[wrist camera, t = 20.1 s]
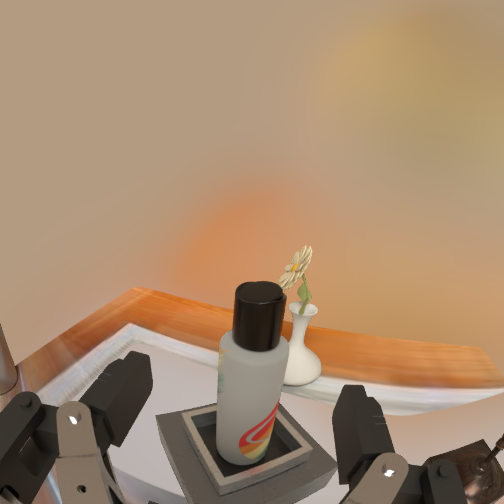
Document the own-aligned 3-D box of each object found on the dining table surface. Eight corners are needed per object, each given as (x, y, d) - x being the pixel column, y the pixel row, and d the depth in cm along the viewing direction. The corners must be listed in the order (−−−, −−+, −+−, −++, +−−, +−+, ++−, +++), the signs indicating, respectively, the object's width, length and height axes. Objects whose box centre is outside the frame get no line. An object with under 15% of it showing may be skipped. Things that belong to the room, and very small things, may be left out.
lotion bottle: (277, 453, 25) (316, 295, 20) (232, 473, 22) (250, 310, 17) (249, 423, 30) (269, 270, 24) (207, 438, 26) (209, 278, 21)
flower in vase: (273, 348, 57) (290, 231, 50) (325, 363, 53) (353, 243, 46) (246, 383, 45) (261, 243, 39) (308, 404, 41) (344, 260, 34)
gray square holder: (161, 441, 30) (152, 401, 28) (262, 414, 38) (269, 374, 36) (207, 536, 17) (204, 516, 15) (325, 486, 25) (347, 452, 23)
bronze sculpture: (408, 554, 11) (515, 480, 7) (392, 493, 22) (465, 402, 17) (493, 512, 11) (578, 425, 6) (471, 466, 22) (537, 377, 17)
